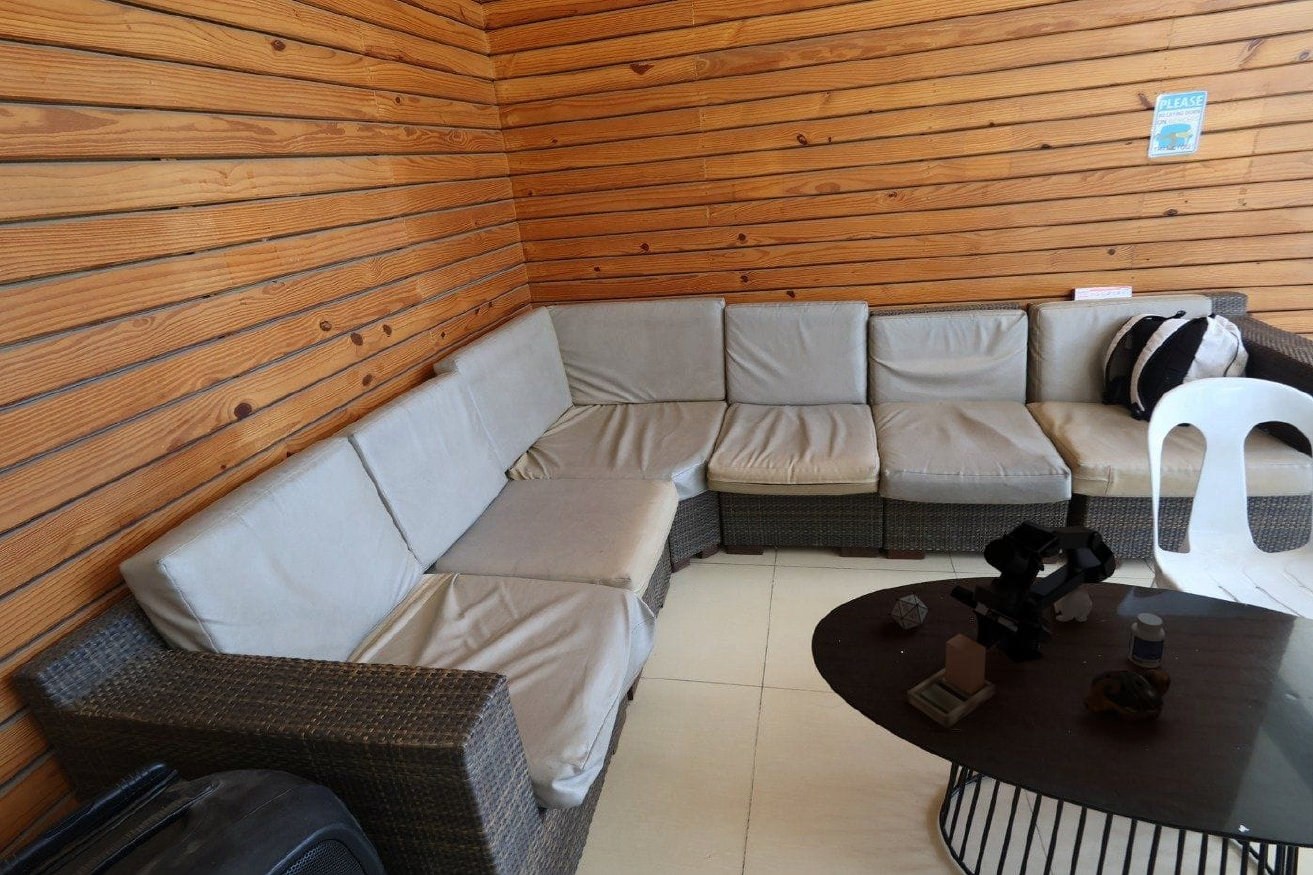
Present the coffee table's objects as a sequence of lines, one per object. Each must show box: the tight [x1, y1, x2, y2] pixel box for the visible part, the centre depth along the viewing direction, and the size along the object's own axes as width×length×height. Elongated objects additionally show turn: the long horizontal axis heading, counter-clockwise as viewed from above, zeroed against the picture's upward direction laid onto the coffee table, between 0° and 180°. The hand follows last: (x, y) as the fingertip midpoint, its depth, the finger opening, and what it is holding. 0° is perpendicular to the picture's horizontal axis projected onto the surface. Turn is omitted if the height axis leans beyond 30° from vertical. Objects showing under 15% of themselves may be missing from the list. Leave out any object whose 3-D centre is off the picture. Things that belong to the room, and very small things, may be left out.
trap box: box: [906, 667, 996, 729], centre depth 130 cm, size 14×9×2 cm, turn 121°
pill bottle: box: [1127, 612, 1166, 669], centre depth 132 cm, size 5×5×10 cm
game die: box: [886, 590, 933, 634], centre depth 150 cm, size 9×8×10 cm
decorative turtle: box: [1082, 668, 1172, 725], centre depth 121 cm, size 10×15×8 cm, turn 100°
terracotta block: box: [944, 633, 987, 695], centre depth 130 cm, size 4×6×9 cm
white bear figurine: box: [1053, 585, 1093, 623], centre depth 149 cm, size 6×8×12 cm
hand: (978, 652), depth 132 cm, fingers closed
